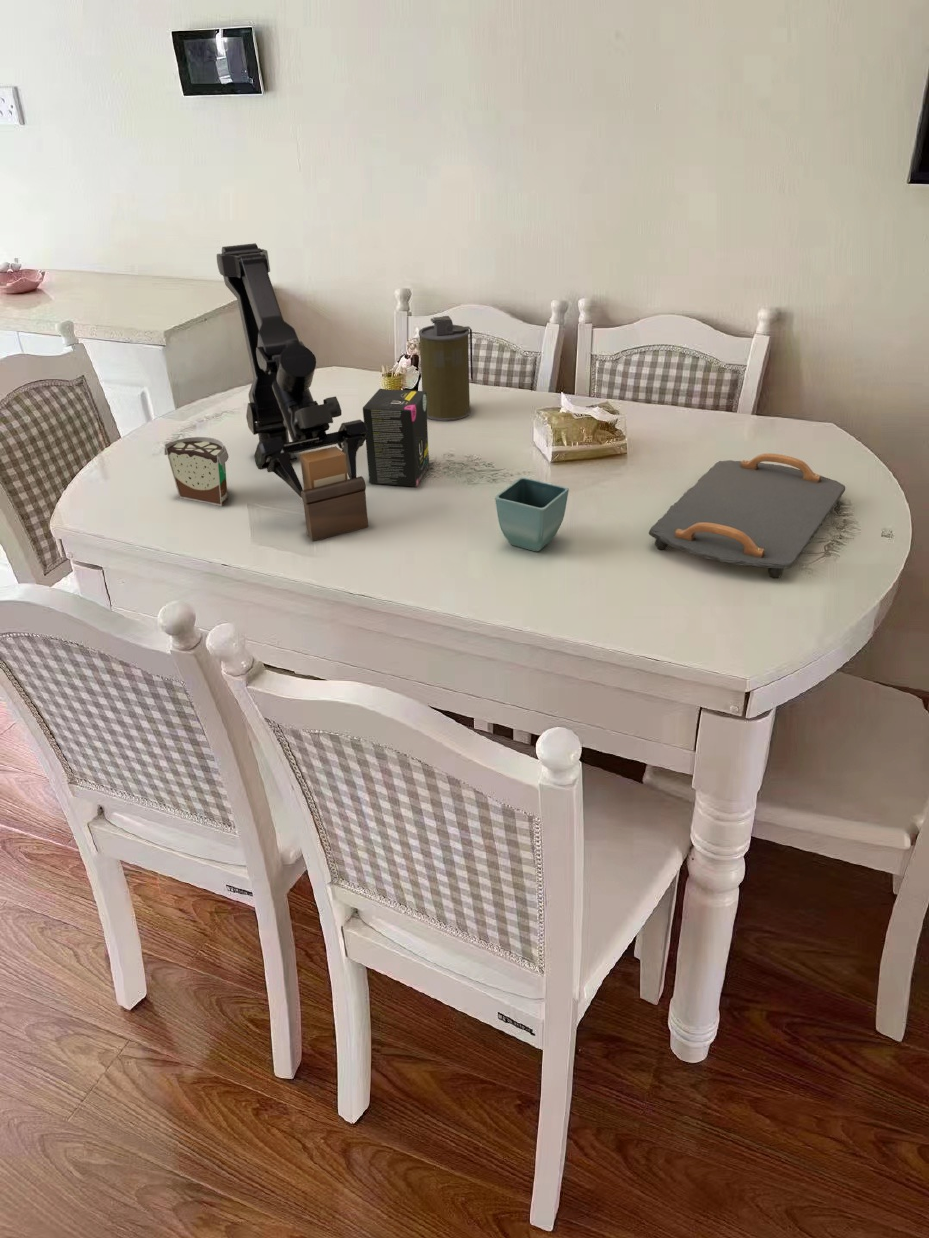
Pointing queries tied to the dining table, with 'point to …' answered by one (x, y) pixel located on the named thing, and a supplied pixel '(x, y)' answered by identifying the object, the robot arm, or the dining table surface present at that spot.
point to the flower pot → (531, 512)
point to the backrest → (335, 508)
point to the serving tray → (750, 513)
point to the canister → (446, 369)
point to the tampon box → (397, 437)
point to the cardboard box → (323, 467)
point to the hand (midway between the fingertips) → (329, 490)
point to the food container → (199, 469)
